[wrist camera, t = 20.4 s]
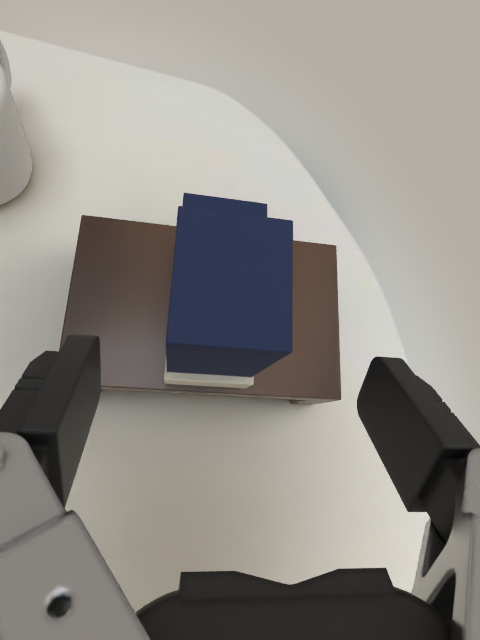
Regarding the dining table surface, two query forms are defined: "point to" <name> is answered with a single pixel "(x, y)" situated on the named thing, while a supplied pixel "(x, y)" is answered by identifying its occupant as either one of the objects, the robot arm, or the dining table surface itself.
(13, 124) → the cup
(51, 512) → the robot arm
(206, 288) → the navy blue block
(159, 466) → the dining table surface
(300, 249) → the brown platform
